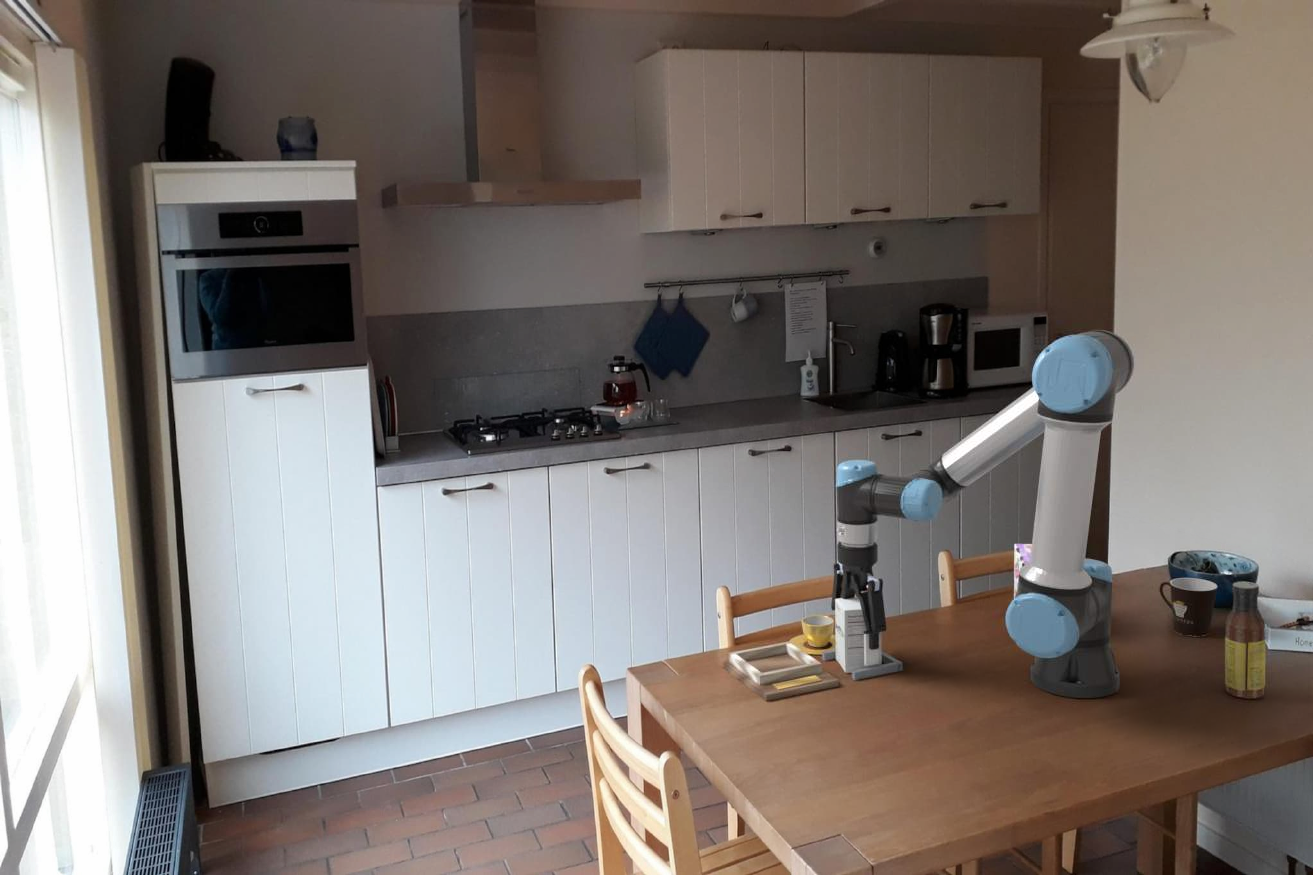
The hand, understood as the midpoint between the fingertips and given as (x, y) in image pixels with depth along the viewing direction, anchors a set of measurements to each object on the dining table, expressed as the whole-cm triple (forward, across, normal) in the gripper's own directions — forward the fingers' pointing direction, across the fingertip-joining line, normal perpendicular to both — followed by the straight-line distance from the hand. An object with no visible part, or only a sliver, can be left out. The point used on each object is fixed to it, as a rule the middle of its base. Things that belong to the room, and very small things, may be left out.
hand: (858, 656), depth 217 cm
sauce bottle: (+2, +42, +52) cm, 67 cm away
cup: (+2, -13, -1) cm, 14 cm away
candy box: (+2, -1, +42) cm, 42 cm away
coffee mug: (+2, +14, +69) cm, 70 cm away
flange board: (+2, -2, -16) cm, 16 cm away
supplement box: (+2, 0, 0) cm, 2 cm away
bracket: (+2, 0, 0) cm, 2 cm away
